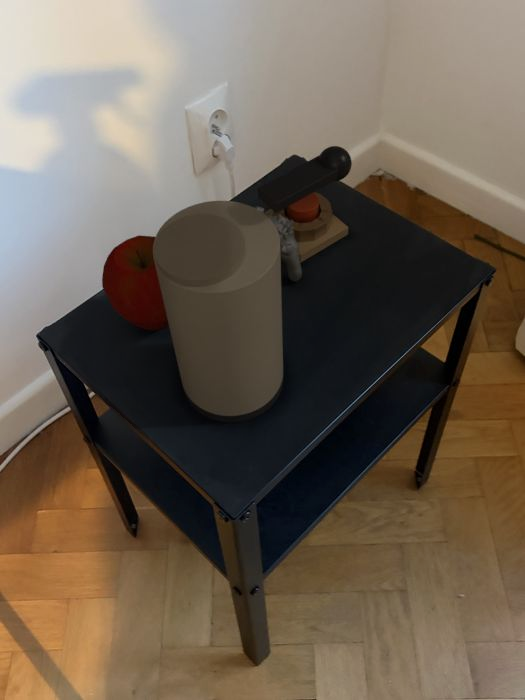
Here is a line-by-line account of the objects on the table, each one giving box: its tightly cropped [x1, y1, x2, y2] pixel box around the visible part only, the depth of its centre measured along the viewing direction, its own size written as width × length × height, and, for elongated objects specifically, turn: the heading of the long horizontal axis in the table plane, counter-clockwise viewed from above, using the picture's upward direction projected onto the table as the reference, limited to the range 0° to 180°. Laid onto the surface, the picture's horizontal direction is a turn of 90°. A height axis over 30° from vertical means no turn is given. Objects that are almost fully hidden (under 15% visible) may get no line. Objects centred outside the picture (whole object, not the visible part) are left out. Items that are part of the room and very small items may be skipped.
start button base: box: [264, 191, 349, 264], centre depth 83 cm, size 8×7×3 cm
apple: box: [101, 235, 169, 331], centre depth 73 cm, size 9×8×11 cm
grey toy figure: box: [253, 205, 303, 282], centre depth 77 cm, size 9×12×8 cm
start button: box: [287, 193, 319, 223], centre depth 81 cm, size 4×4×2 cm
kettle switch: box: [257, 145, 352, 213], centre depth 59 cm, size 3×8×3 cm, turn 127°
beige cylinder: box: [153, 200, 284, 423], centre depth 64 cm, size 10×10×20 cm
